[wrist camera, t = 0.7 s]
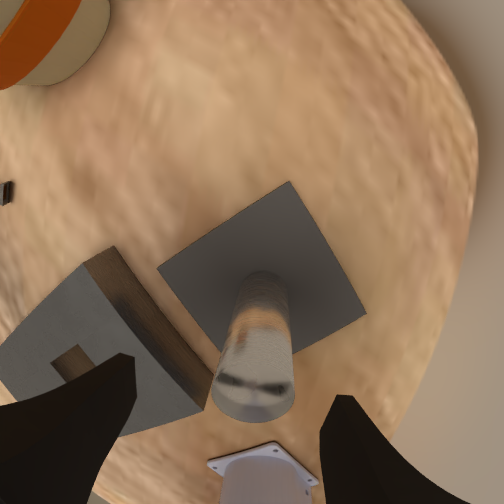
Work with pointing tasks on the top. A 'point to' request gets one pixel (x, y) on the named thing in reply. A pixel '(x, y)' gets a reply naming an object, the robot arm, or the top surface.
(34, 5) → the reusable coffee cup
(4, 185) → the wooden post with brackets
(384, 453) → the robot arm
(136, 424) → the block
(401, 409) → the top surface
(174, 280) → the rubber mat
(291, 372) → the steel pin
